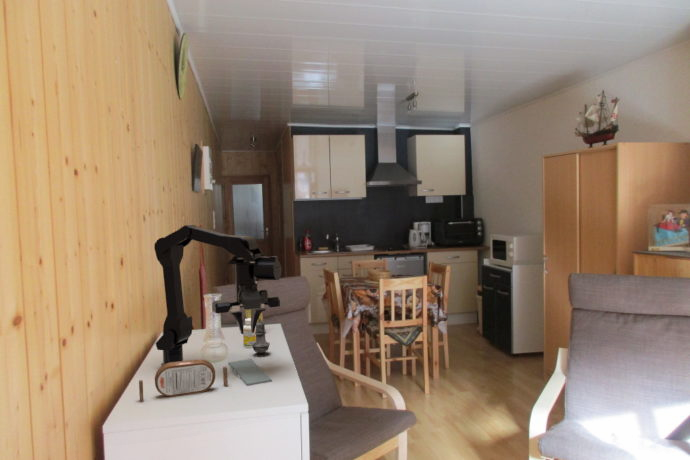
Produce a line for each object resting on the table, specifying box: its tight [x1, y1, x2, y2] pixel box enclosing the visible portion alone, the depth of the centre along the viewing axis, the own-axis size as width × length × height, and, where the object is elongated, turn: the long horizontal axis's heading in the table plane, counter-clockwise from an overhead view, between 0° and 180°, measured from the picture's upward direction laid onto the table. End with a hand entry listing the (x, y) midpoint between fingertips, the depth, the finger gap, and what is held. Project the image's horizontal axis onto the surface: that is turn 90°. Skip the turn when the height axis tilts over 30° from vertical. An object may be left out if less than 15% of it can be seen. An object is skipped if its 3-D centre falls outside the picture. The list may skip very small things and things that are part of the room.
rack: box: [138, 366, 229, 403], centre depth 127 cm, size 2×22×5 cm, turn 116°
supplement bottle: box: [242, 318, 256, 349], centre depth 171 cm, size 5×5×10 cm
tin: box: [154, 358, 216, 397], centre depth 127 cm, size 15×3×8 cm, turn 109°
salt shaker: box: [252, 319, 271, 358], centre depth 160 cm, size 6×6×12 cm
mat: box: [228, 358, 273, 387], centre depth 143 cm, size 22×7×1 cm, turn 26°
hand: (247, 333), depth 143 cm, fingers open, 3 cm apart
